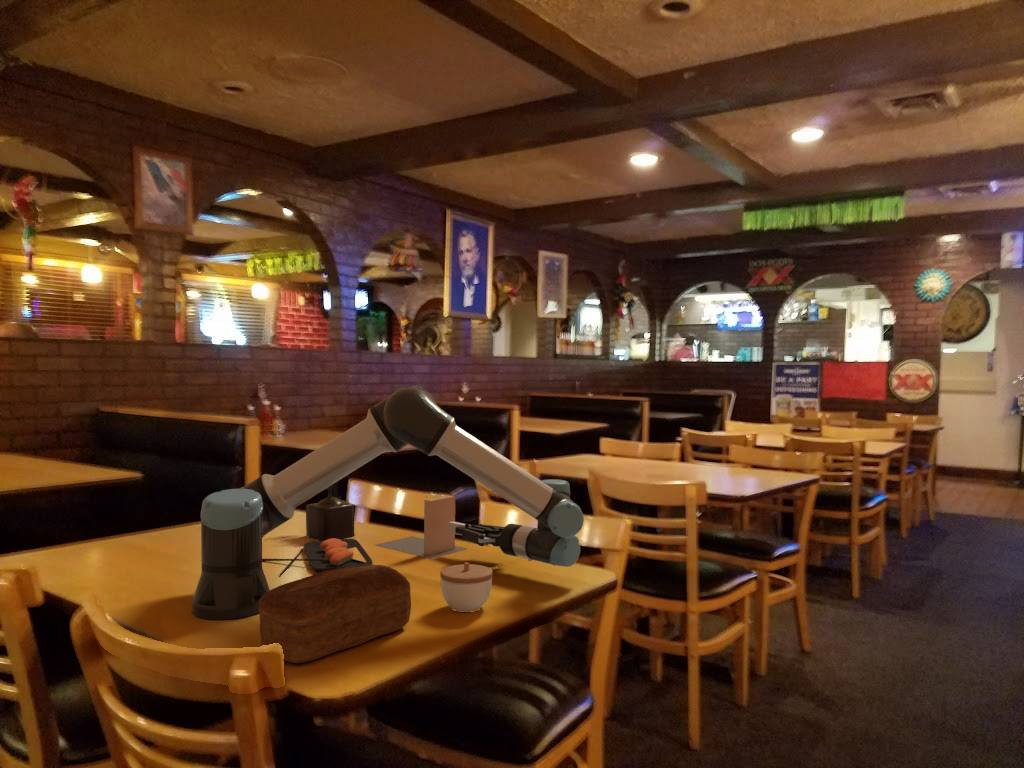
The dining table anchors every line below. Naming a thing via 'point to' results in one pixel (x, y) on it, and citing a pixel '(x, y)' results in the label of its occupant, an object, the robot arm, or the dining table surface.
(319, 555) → the sushi plate
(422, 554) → the board
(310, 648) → the bread
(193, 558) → the dining table surface
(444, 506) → the tile
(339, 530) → the pepper mill
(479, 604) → the lidded jar
